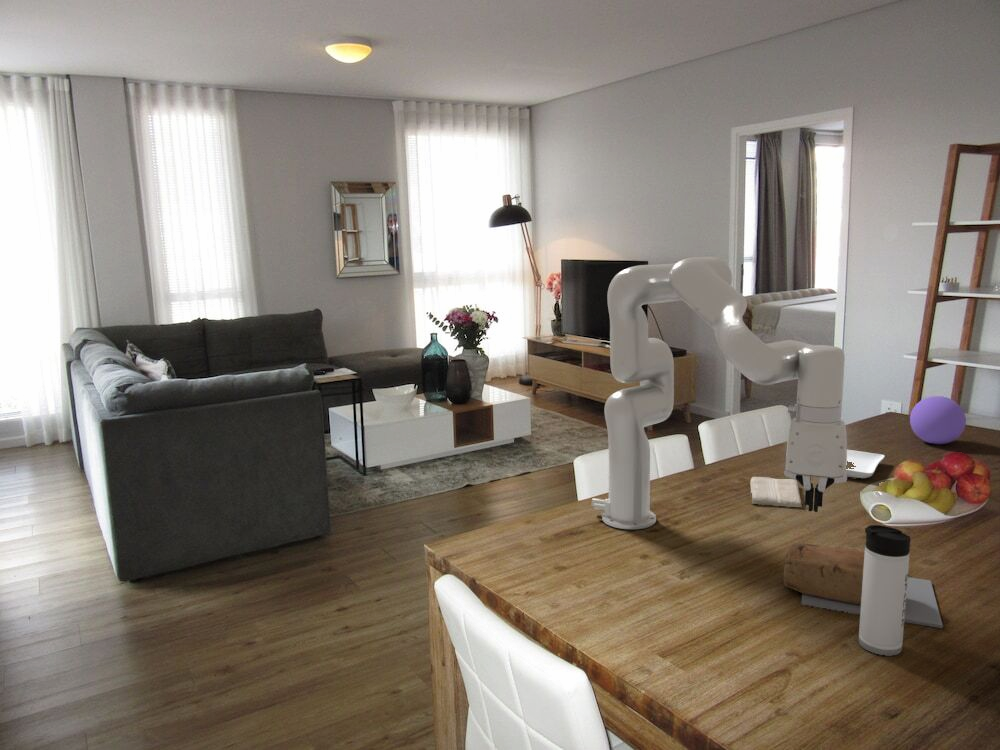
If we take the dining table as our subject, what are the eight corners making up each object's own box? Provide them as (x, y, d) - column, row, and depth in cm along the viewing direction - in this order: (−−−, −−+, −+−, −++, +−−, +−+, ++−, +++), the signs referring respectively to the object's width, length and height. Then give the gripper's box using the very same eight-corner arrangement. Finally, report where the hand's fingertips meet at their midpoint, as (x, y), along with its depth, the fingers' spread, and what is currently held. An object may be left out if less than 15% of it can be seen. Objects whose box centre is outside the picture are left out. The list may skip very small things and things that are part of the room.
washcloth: (796, 487, 197) (796, 476, 196) (802, 511, 180) (803, 499, 179) (749, 484, 200) (749, 473, 200) (751, 507, 183) (751, 495, 183)
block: (780, 592, 137) (903, 617, 128) (783, 553, 136) (908, 576, 127) (788, 570, 146) (903, 592, 137) (791, 534, 145) (907, 554, 136)
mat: (801, 604, 133) (801, 602, 133) (805, 564, 150) (805, 562, 150) (942, 628, 125) (942, 625, 125) (930, 582, 141) (930, 580, 141)
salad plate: (807, 454, 225) (807, 443, 225) (885, 465, 213) (885, 453, 213) (788, 473, 208) (789, 461, 208) (872, 485, 196) (873, 473, 196)
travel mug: (848, 637, 122) (856, 522, 119) (886, 634, 123) (895, 520, 119) (870, 658, 116) (879, 537, 113) (910, 655, 117) (920, 535, 113)
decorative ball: (959, 439, 236) (964, 393, 234) (967, 451, 223) (971, 403, 220) (906, 435, 243) (909, 390, 240) (910, 447, 229) (914, 399, 226)
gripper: (773, 415, 135) (769, 511, 138) (864, 421, 129) (858, 521, 132) (776, 406, 142) (772, 498, 145) (863, 412, 136) (857, 507, 139)
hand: (813, 509), depth 138 cm, fingers closed
